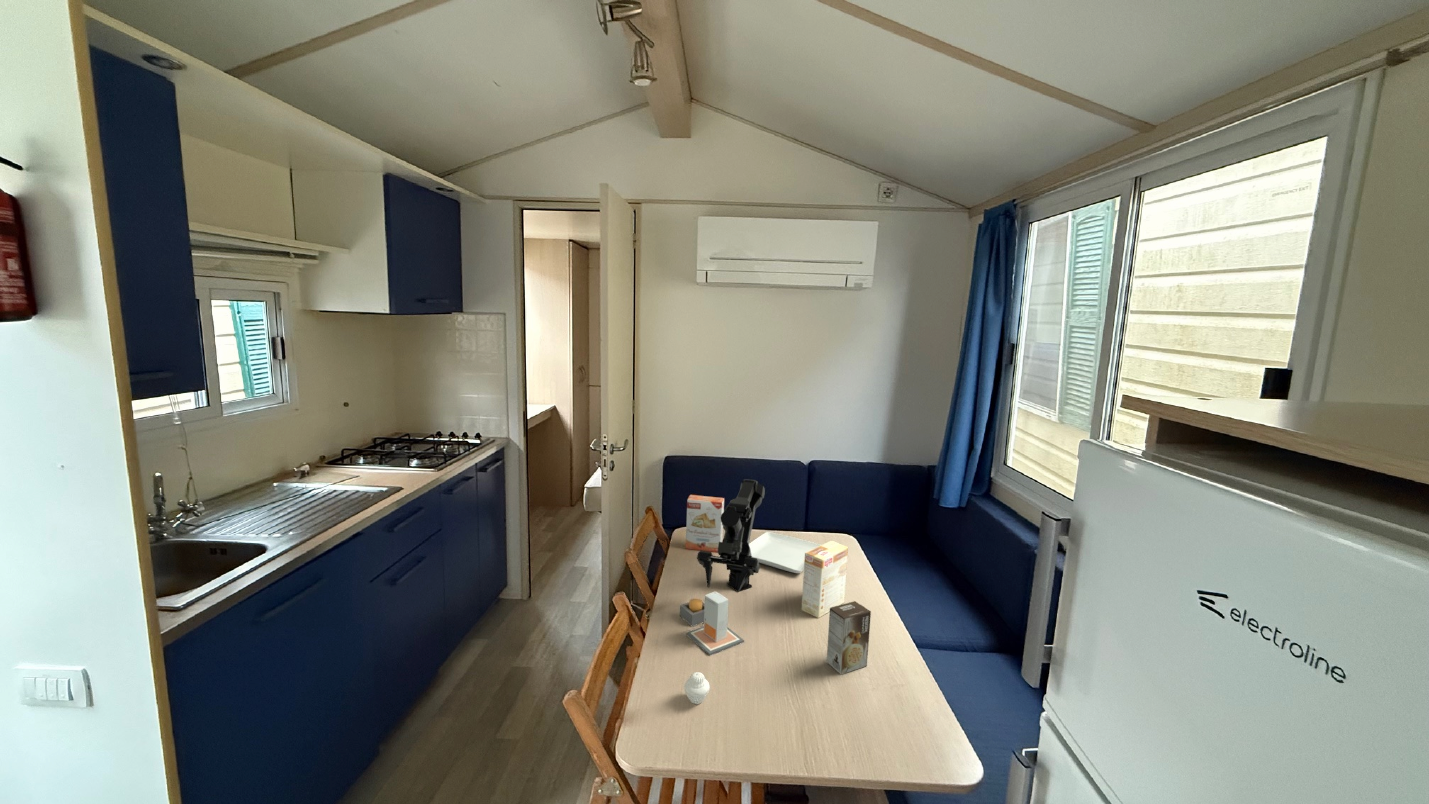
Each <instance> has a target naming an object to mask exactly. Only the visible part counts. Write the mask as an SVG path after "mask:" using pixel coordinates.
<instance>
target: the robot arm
mask: <svg viewBox="0 0 1429 804" xmlns="http://www.w3.org/2000/svg"><path fill="white" fill-rule="evenodd" d="M739 487H740V488H739V492H738V494H737V496H736V498H733V499H730V502H729V503H728V505H726V506H725V507H724V512H723V513H722V515H721V522H722V525H723V531H724V534H723V537H722V542H719V544H718V552H717V555H719V556H715V555H713V554H712V553H713V552H711V551H703V550H698V552H697V555H696V559H697V562H698V563H699V565H701V567H703V568H704V572H705V579H706V587H707V588H710V586H711V585H710V584H711V580H712V572H713V563H715V564H721V565H726V570H727V571H729V574H728V581H727V582H726V585H727V586H729V587H730V588H732V590H734V591H736V592H737V593H739V592H741V591H744V590H748V589H751V588H753V586H752V584H750V577H751V576H754V575H755V574H759V572H760V563H759V562H758V560H757V558H753V557H752V556H751V550H750V547H749V543H750V541H751V537H752V530H753V525H754V520H755V514H756V510H757V509H758V507H760V506H761V504H762V501H763V499H764V498H765V494H766V493H765V492H766V491H765V490H766V488H765V487H764V485H762V484H761V483H759V482H758V480H756V479H749V478H748V479H746V478H745V479H743V480H742V482H741V483H740V486H739Z"/></svg>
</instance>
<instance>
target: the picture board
mask: <svg viewBox="0 0 1429 804" xmlns="http://www.w3.org/2000/svg"><path fill="white" fill-rule="evenodd" d="M703 630H704V625H703V626H701V627H698V628H695V629H693V630H689V631H686V632H685V635H686V636H687V638H689V639H690V640H691V641H692V642H694V643H695V644H696V645H697V646H698V647H699V648H701V649H702V650H703V651H704V652H705V654H707V655H708V656H712V655H715V654H718V653H719V652H720V653H721V652H722V650H723V651H725V650H727V649H730V648H733V647H735V646H737V645H738V646H739V645H740V643H741V644H743V643H745V640H744V639H743V638H742V637H741V636H740V635H739V634H737V633H736V632H734V631H733V630H732V629H731V628H729V627H728V626H727V638H725V639H723V640H720V641H718V642H715V641H714V640H713V639H711V638H710V637H709V636H707V635H706V634H704V633H703Z"/></svg>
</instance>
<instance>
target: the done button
mask: <svg viewBox="0 0 1429 804" xmlns="http://www.w3.org/2000/svg"><path fill="white" fill-rule="evenodd" d="M688 602H689V610H690V611H692V612H693V613H695V612H698V611H701V610H702V602H703V600H702V599H700V598H692V599H689V601H688Z"/></svg>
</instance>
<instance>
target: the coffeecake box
mask: <svg viewBox="0 0 1429 804" xmlns="http://www.w3.org/2000/svg"><path fill="white" fill-rule="evenodd" d="M848 552H849V547H848V546H846V545H844V544H841V543H838V542H836V541H834V540H829V541H827V542H825V543H823V544H821V546H819V547H817V548H814V549H812V550H810V551H808V552H806V553H805V560H804V570H803V578H802V579H803V580H802V582H803V583H802V593H801V594H802V595H801V611H802V612H805V613H806V614H809V615H811V616H812V617H815V618H817V619H820V618H821V617H823V616H825V615H826V614H827V613H830V608H831V607H835V606H839V605H842V604H845V598H846V597H845V595H846V594H845V593H846V583H847V582H846V581H847V569H848V556H849V555H848Z"/></svg>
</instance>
